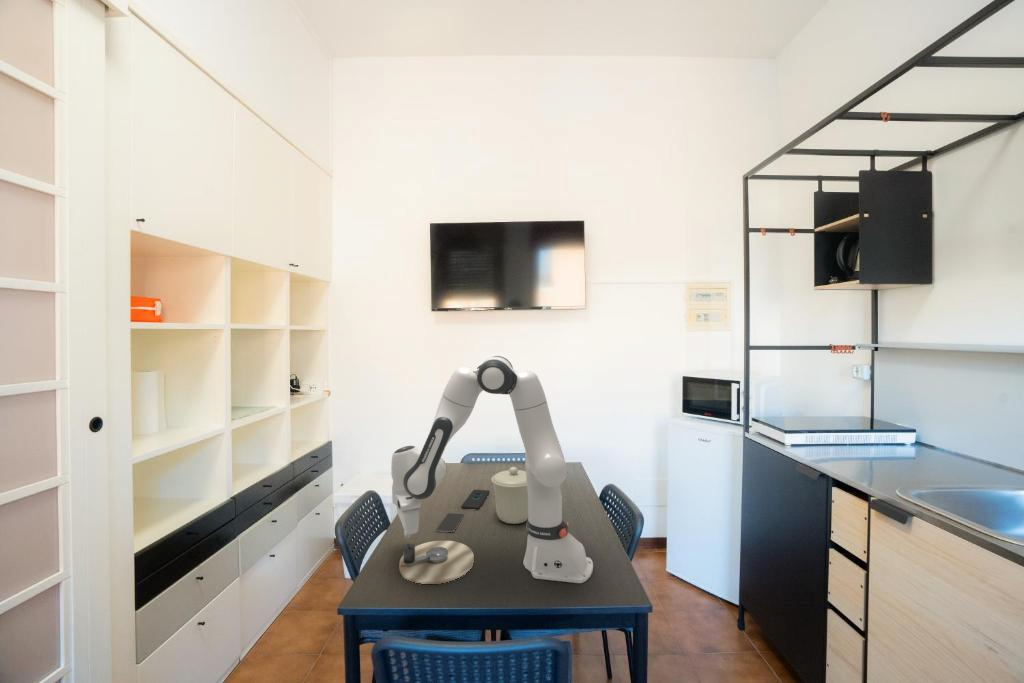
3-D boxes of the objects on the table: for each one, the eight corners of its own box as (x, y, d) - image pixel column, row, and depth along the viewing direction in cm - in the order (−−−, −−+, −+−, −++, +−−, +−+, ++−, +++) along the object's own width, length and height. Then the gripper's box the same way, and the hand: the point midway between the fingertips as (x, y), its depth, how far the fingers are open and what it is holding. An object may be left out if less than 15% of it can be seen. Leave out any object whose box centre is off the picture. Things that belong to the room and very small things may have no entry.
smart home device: (490, 490, 197) (478, 507, 177) (490, 493, 197) (478, 511, 177) (473, 489, 198) (460, 506, 179) (473, 492, 198) (460, 510, 179)
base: (486, 552, 143) (486, 547, 143) (450, 592, 121) (449, 586, 121) (427, 539, 152) (426, 535, 152) (383, 574, 130) (383, 569, 130)
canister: (532, 530, 158) (532, 475, 158) (486, 526, 162) (486, 473, 162) (538, 511, 176) (538, 461, 176) (497, 507, 180) (497, 459, 179)
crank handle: (444, 550, 141) (444, 534, 141) (450, 560, 134) (450, 543, 134) (401, 559, 135) (401, 542, 135) (405, 570, 129) (405, 553, 129)
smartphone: (464, 513, 173) (453, 531, 157) (464, 516, 173) (453, 533, 157) (447, 512, 174) (435, 529, 158) (447, 515, 174) (435, 532, 158)
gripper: (391, 487, 147) (393, 525, 147) (401, 508, 128) (403, 552, 128) (409, 483, 149) (411, 521, 150) (421, 504, 131) (423, 547, 131)
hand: (407, 536), depth 139 cm, fingers closed
